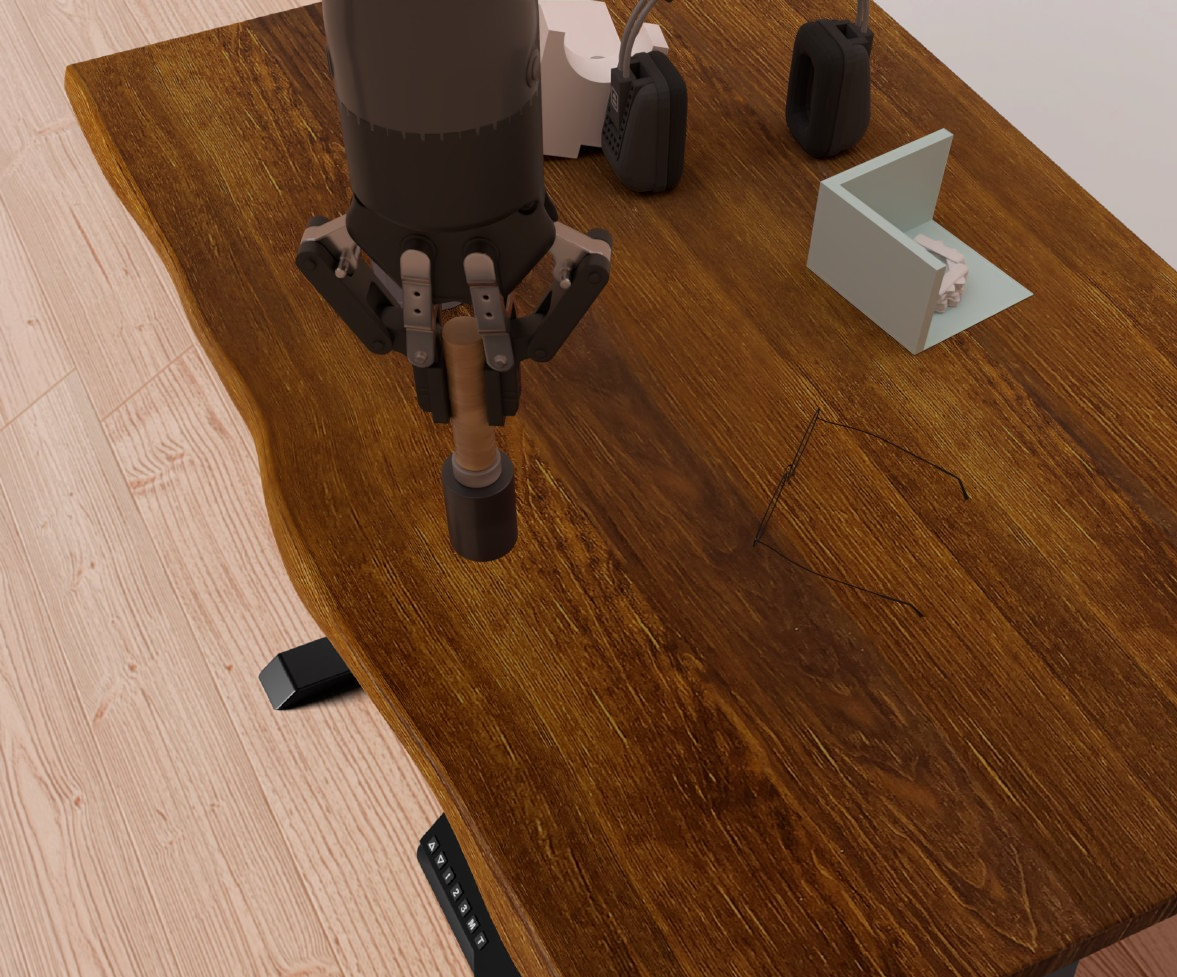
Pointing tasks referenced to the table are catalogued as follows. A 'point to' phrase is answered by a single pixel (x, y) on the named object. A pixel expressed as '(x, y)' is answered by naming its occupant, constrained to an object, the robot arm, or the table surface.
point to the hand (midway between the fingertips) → (471, 411)
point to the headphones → (660, 101)
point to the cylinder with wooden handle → (475, 455)
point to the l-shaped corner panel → (904, 248)
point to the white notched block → (580, 70)
